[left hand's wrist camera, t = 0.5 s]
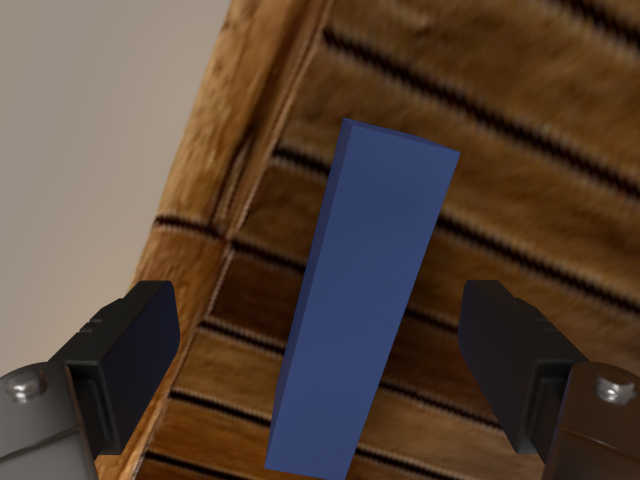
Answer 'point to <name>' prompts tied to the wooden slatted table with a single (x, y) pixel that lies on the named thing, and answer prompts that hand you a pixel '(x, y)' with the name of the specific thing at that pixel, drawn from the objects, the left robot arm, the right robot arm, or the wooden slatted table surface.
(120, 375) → the left robot arm
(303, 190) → the wooden slatted table surface
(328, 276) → the box
